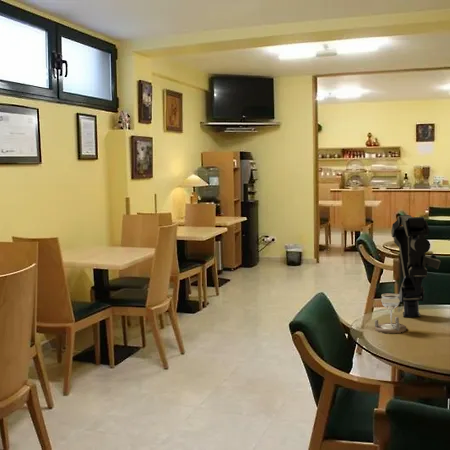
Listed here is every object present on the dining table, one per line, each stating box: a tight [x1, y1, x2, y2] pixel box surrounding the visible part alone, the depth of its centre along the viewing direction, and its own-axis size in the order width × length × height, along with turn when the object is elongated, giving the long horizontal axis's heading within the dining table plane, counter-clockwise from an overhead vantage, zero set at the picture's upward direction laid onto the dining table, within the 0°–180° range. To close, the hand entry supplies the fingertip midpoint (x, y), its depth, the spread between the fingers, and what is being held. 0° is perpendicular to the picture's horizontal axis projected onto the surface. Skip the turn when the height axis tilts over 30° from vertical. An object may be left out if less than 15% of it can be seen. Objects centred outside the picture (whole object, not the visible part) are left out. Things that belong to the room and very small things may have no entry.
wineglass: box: [381, 292, 401, 328], centre depth 211 cm, size 7×7×12 cm
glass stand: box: [374, 316, 407, 335], centre depth 211 cm, size 11×11×4 cm
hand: (417, 290), depth 216 cm, fingers open, 9 cm apart
